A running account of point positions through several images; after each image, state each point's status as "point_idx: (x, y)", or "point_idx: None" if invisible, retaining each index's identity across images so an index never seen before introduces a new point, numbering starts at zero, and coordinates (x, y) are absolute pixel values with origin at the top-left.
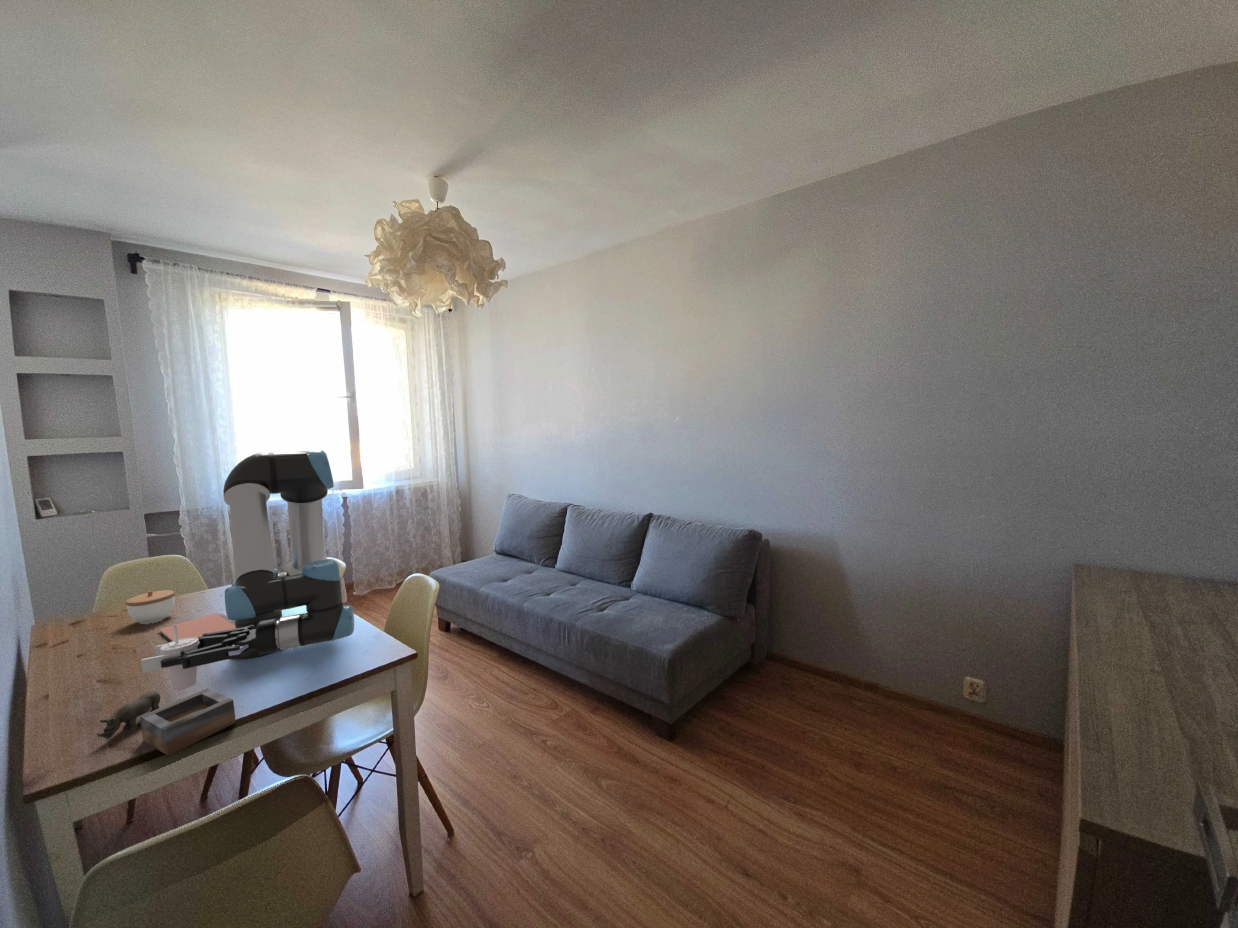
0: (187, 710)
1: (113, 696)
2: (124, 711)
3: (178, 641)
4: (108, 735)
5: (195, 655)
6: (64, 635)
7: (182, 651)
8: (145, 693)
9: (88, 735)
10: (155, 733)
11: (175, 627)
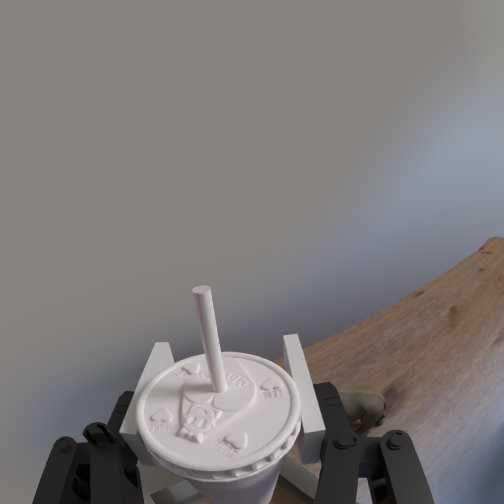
0: (302, 501)
1: (424, 342)
2: None
3: (246, 387)
4: None
5: (43, 475)
6: (494, 248)
7: (86, 429)
8: (367, 394)
9: (321, 380)
10: None
11: (196, 311)
